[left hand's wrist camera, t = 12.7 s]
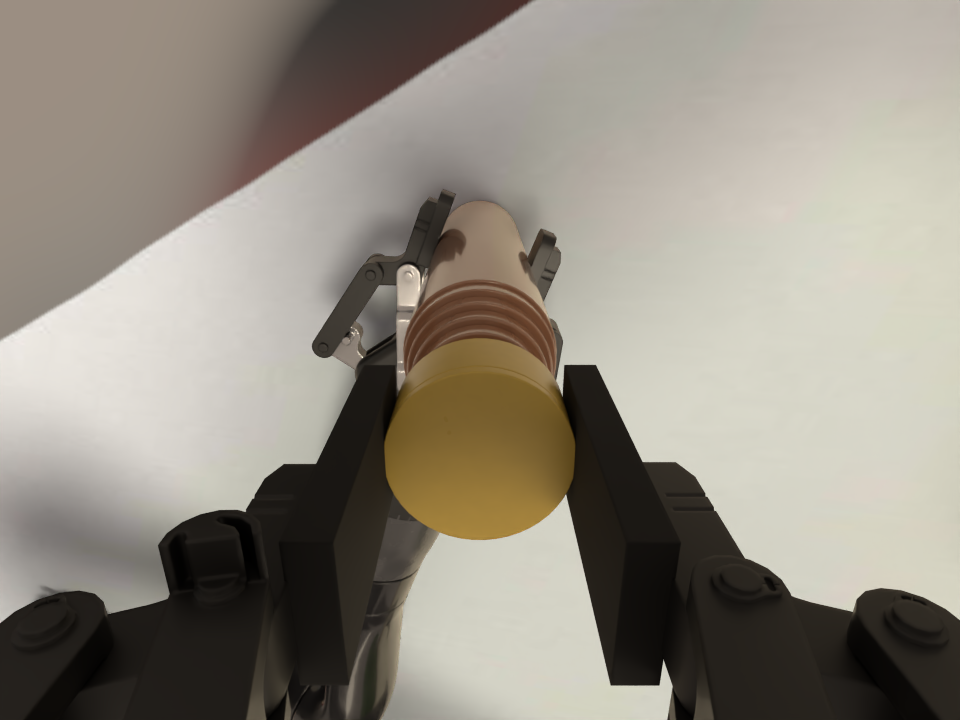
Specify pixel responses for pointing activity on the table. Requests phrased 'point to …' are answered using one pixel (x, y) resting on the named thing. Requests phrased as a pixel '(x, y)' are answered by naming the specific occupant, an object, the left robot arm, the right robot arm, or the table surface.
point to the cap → (479, 441)
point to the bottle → (479, 289)
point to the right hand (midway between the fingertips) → (498, 214)
